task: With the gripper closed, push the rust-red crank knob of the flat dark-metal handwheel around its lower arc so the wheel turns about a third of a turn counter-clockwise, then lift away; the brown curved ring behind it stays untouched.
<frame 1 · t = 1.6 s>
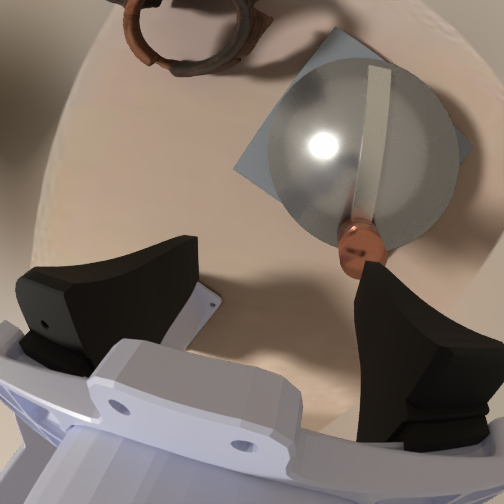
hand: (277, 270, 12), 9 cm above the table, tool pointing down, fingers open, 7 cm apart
brown curved ring: (201, 13, 15), on the table
wheel base: (359, 149, 17), on the table
handwheel: (370, 157, 14), point 4 cm above the table, hinge at 0.0°
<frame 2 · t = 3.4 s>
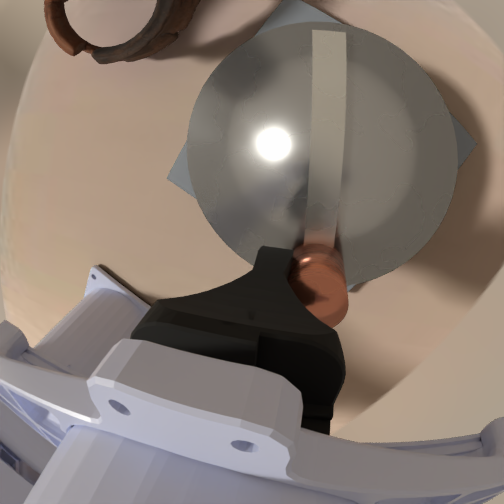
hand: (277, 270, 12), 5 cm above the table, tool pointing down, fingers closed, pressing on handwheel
wheel base: (323, 148, 14), on the table
handwheel: (326, 159, 10), point 4 cm above the table, hinge at 3.0°, touching gripper
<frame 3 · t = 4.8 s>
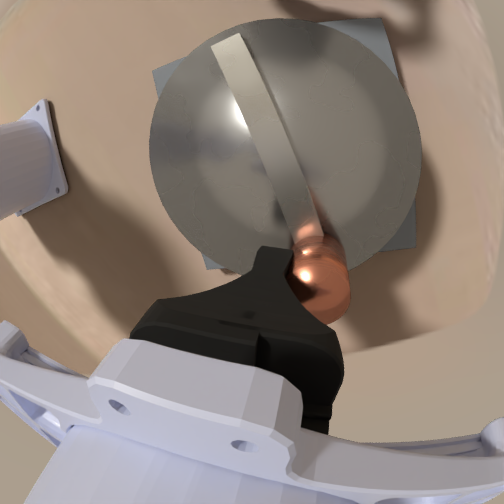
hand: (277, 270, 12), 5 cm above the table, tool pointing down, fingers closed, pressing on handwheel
wheel base: (289, 145, 14), on the table
handwheel: (278, 155, 10), point 4 cm above the table, hinge at 69.9°, touching gripper
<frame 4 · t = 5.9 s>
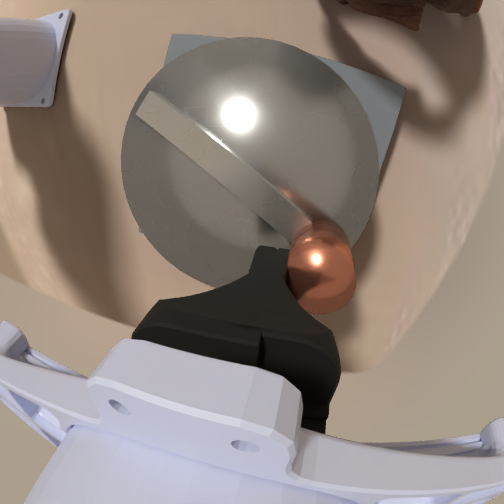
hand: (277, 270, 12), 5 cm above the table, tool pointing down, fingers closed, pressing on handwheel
wheel base: (257, 158, 15), on the table
handwheel: (235, 172, 11), point 4 cm above the table, hinge at 125.3°, touching gripper
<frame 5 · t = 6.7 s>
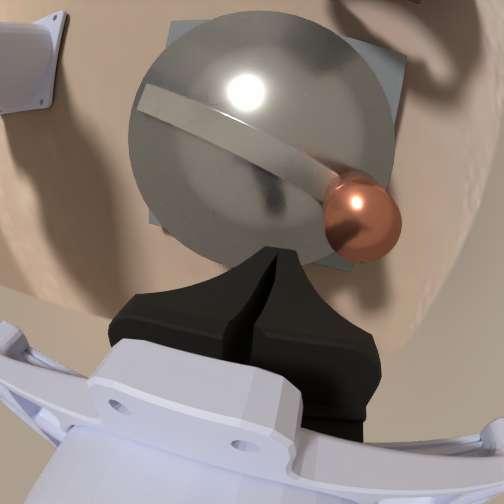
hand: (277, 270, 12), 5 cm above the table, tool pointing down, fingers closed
wheel base: (267, 136, 14), on the table
handwheel: (250, 142, 10), point 4 cm above the table, hinge at 133.3°
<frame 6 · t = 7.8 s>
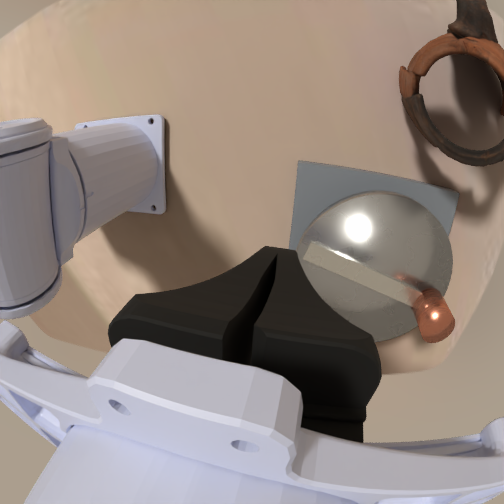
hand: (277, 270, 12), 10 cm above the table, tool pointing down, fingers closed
brown curved ring: (453, 79, 14), on the table
wheel base: (367, 250, 21), on the table
handwheel: (376, 279, 17), point 4 cm above the table, hinge at 133.3°
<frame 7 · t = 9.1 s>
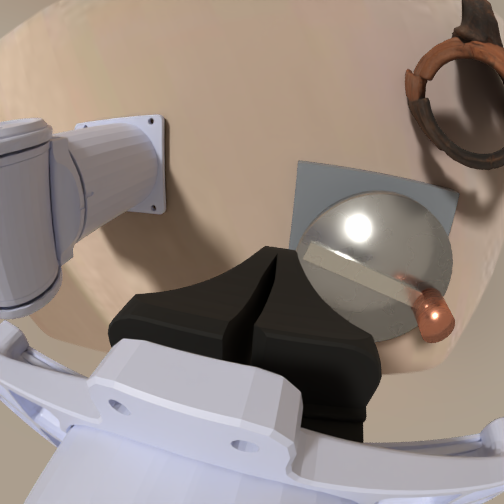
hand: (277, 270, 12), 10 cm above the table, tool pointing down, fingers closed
brown curved ring: (457, 82, 14), on the table
wheel base: (367, 250, 21), on the table
handwheel: (376, 279, 17), point 4 cm above the table, hinge at 133.3°
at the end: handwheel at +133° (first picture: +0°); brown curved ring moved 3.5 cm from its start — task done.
